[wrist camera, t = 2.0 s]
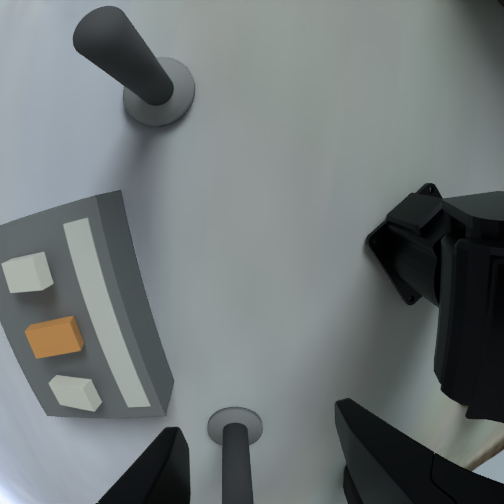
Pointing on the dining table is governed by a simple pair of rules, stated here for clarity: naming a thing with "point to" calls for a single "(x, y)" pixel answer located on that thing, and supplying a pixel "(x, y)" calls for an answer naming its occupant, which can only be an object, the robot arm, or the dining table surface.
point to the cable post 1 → (135, 67)
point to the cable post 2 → (235, 450)
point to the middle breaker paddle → (55, 337)
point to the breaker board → (87, 309)
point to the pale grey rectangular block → (27, 273)
